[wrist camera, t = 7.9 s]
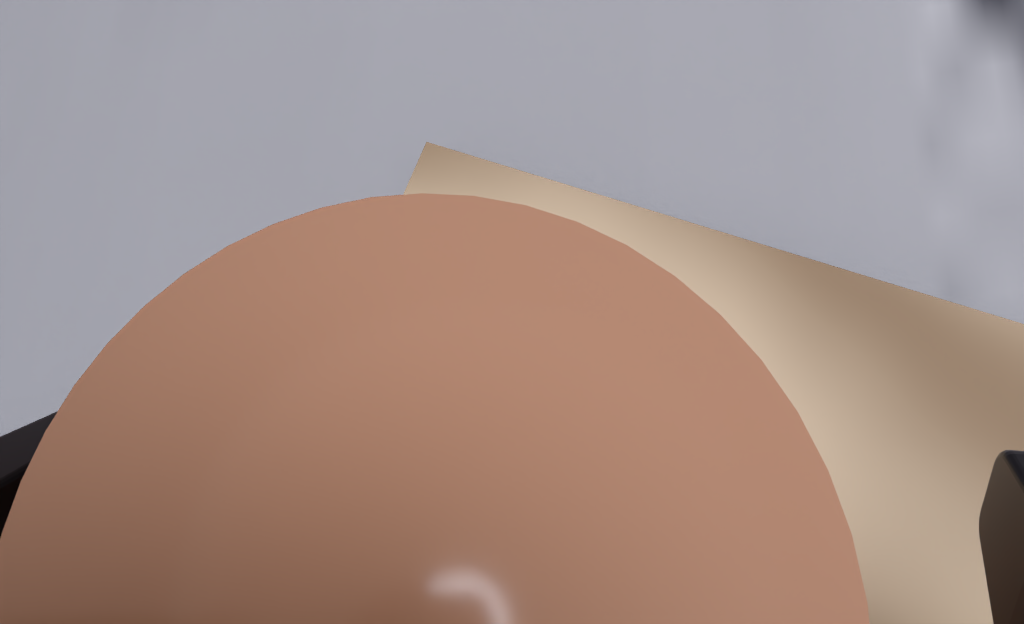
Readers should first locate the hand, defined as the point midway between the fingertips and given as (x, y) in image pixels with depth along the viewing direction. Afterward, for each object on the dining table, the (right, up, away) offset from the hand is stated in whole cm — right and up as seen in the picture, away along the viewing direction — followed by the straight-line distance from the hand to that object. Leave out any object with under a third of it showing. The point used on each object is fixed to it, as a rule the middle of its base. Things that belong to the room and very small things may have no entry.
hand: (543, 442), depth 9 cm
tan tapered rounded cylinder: (+1, -3, +7) cm, 8 cm away
